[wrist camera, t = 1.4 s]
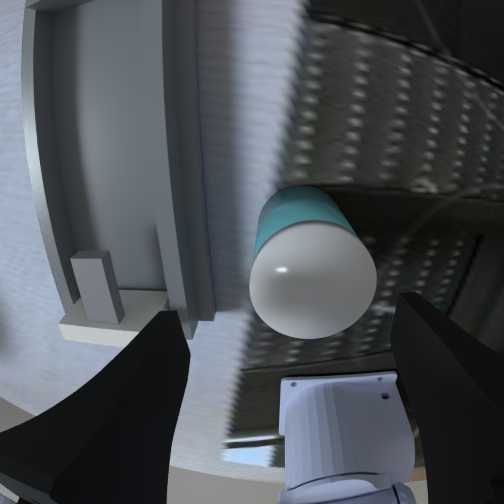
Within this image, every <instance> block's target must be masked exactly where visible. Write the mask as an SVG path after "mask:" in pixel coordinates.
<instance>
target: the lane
mask: <svg viewBox="0 0 504 504" xmlns="http://www.w3.org/2000/svg"><path fill="white" fill-rule="evenodd" d="M21 82H22V108H23V123H24V134H25V143H26V152H27V160H28V167H29V173H30V180H31V185H32V191H33V197H34V202H35V207H36V212H37V216H38V221H39V225H40V229H41V234H42V238H43V242H44V246H45V249H46V253H47V257H48V260H49V264H50V267H51V271H52V274H53V277H54V281H55V284H56V287H57V290H58V293H59V296H60V299H61V302H62V305H63V308H64V311H65V313H67V312H68V311H69V310H70V309H71V308H72V306H73V305H74V304H75V303H76V302H77V301H78V299H79V298H80V297H81V295H80V291H79V288H78V285H77V281H76V278H75V274H74V271H73V267H72V263H71V260H70V258H72V257H73V256H74V255H75V254H76V253H77V252H78V251H102V250H110V255H111V259H112V264H113V268H114V272H115V277H116V281H117V285H118V289H119V290H141V291H167V293H168V298H169V303H170V308H171V310H177V312H178V315H179V319H180V322H181V325H182V328H183V332H184V335H185V338H186V339H188V340H192V339H193V336H194V333H195V330H196V327H197V324H198V321H214V317H215V313H216V310H215V301H214V291H213V282H212V272H211V262H210V252H209V241H208V230H207V218H206V206H205V193H204V180H203V166H202V151H201V135H200V117H199V97H198V73H197V42H196V0H26V3H25V11H24V21H23V35H22V60H21Z"/></svg>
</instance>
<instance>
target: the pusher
mask: <svg viewBox="0 0 504 504" xmlns="http://www.w3.org/2000/svg"><path fill="white" fill-rule="evenodd" d="M70 260H71V263H72V267H73V271H74V274H75V278H76V281H77V285H78V288H79V291H80V295H81V297H80V298H79V299H78V301H77V302H76V303H75V304H74V305H73V306H72V308H71V309H70V310H69V311H68V312H67V313H66V315H65V316H64V317H63V318H62V319H61V321H60V322H59V323H58V324H59V327H60V329H61V332H62V334H63V337H64V339H65V340H72V341H79V342H86V343H93V344H101V345H109V346H118V347H126V346H127V345H128V344H129V343H130V342H131V340H132V339H133V338H134V337H135V336H136V335H137V334H138V333H139V332H140V331H141V330H142V329H143V328H144V327H145V326H146V325H147V323H148V322H149V321H150V320H151V319H152V318H153V317H154V316H155V315H156V314H157V313H158V312H159V311H171V308H170V303H169V298H168V293H167V291H141V290H119V289H118V285H117V281H116V277H115V272H114V268H113V264H112V259H111V255H110V250H102V251H78V252H77V253H76V254H75V255H74V256H73V257H72V258H70Z"/></svg>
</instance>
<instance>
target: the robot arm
mask: <svg viewBox="0 0 504 504" xmlns="http://www.w3.org/2000/svg"><path fill="white" fill-rule="evenodd" d="M390 343H391V347H392V352H393V356H394V359H395V363H396V367H397V369H398V372H399V375H400V377H401V380H402V383H403V385H404V388H405V391H406V393H407V396H408V399H409V401H410V404H411V407H412V410H413V412H414V415H415V418H416V422H417V425H418V429H419V434H420V439H421V444H422V449H423V455H424V461H425V468H426V477H427V488H428V504H504V357H503V356H501V355H499V354H498V353H496V352H494V351H493V350H491V349H490V348H488V347H487V346H485V345H484V344H482V343H481V342H480V341H478V340H477V339H475V338H474V337H473V336H471V335H470V334H469V333H467V332H466V331H465V330H463V329H462V328H461V327H459V326H458V325H457V324H456V323H454V322H453V321H452V320H451V319H449V318H448V317H447V316H446V315H444V314H443V313H442V312H441V311H439V310H438V309H437V308H436V307H435V306H433V305H432V304H431V303H430V302H428V301H427V300H426V299H424V298H423V297H422V296H421V295H419V294H418V293H416V292H408V293H399V294H398V300H397V305H396V311H395V316H394V321H393V326H392V331H391V336H390ZM190 357H191V354H190V350H189V347H188V344H187V341H186V338H185V335H184V332H183V328H182V325H181V322H180V319H179V315H178V312H177V310H171V311H159V312H158V313H157V314H156V315H155V316H154V317H153V318H152V319H151V320H150V321H149V322H148V323H147V325H146V326H145V327H144V328H143V329H142V330H141V331H140V332H139V333H138V334H137V335H136V336H135V337H134V338H133V339H132V340H131V342H130V343H129V344H128V345H127V346H126V347H125V348H124V349H123V350H122V351H121V352H120V353H119V354H118V355H117V356H116V357H115V358H114V359H113V360H111V361H110V362H109V363H108V364H107V365H106V366H105V367H104V368H103V369H102V370H101V371H100V372H99V373H98V374H97V375H95V376H94V377H93V378H92V379H91V380H89V381H88V382H87V383H86V384H84V385H83V386H82V387H81V388H79V389H78V390H77V391H75V392H74V393H73V394H71V395H70V396H68V397H67V398H65V399H64V400H62V401H61V402H59V403H58V404H56V405H55V406H53V407H52V408H50V409H48V410H47V411H45V412H43V413H41V414H40V415H38V416H36V417H34V418H32V419H30V420H28V421H26V422H24V423H22V424H20V425H17V426H15V427H13V428H10V429H8V430H6V431H3V432H1V433H0V483H1V484H2V485H3V486H5V487H6V488H7V489H9V490H10V491H11V492H13V493H14V494H16V495H17V496H19V500H18V503H16V502H14V501H13V500H11V499H9V498H8V497H6V496H4V495H2V494H1V493H0V504H166V503H167V484H168V472H169V463H170V454H171V446H172V441H173V436H174V432H175V428H176V424H177V420H178V416H179V412H180V408H181V404H182V401H183V397H184V393H185V389H186V385H187V381H188V373H189V365H190ZM380 377H381V378H380ZM396 379H397V374H396V372H395V371H388V372H377V373H366V374H353V375H337V376H316V377H286V378H283V379H282V380H281V396H280V419H279V434H280V435H285V491H284V492H280V493H279V504H416V500H415V497H414V495H413V492H412V491H411V489H410V488H409V487H407V486H405V485H404V483H406V482H407V481H408V479H409V478H410V476H411V473H412V471H413V467H414V462H415V445H414V438H413V434H412V430H411V427H410V424H409V421H408V418H407V415H406V412H405V409H404V406H403V403H402V400H401V397H400V394H399V392H398V389H397V386H396V383H395V382H396ZM293 382H295V383H293Z"/></svg>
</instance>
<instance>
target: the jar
mask: <svg viewBox="0 0 504 504" xmlns="http://www.w3.org/2000/svg"><path fill="white" fill-rule="evenodd" d="M376 282H377V277H376V269H375V265H374V262H373V259H372V257H371V255H370V254H369V252H368V250H367V249H366V247H365V246H364V244H363V243H362V241H361V240H360V239H359V238H358V237H357V235H356V233H355V232H354V230H353V229H352V227H351V226H350V224H349V222H348V221H347V219H346V218H345V216H344V215H343V213H342V212H341V210H340V209H339V207H338V206H337V204H336V203H335V201H334V200H333V199H332V198H331V197H330V196H329V195H328V194H326V193H325V192H324V191H322V190H320V189H318V188H315V187H311V186H304V185H298V186H291V187H288V188H285V189H282V190H280V191H279V192H277V193H276V194H274V195H273V196H272V197H271V198H270V199H269V200H268V201H267V202H266V203H265V205H264V206H263V208H262V210H261V213H260V216H259V221H258V228H257V236H256V244H255V253H254V261H253V264H252V269H251V275H250V285H249V290H250V297H251V301H252V304H253V306H254V308H255V310H256V312H257V313H258V315H259V316H260V317H261V319H262V320H263V321H264V322H265V323H266V324H267V325H269V326H270V327H271V328H273V329H274V330H276V331H278V332H280V333H282V334H285V335H288V336H291V337H295V338H302V339H314V338H322V337H327V336H330V335H333V334H336V333H338V332H341V331H342V330H344V329H346V328H348V327H349V326H351V325H352V324H353V323H355V322H356V321H357V320H358V319H359V318H360V317H361V316H362V315H363V314H364V312H365V311H366V310H367V308H368V307H369V305H370V303H371V301H372V299H373V296H374V293H375V289H376Z"/></svg>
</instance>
